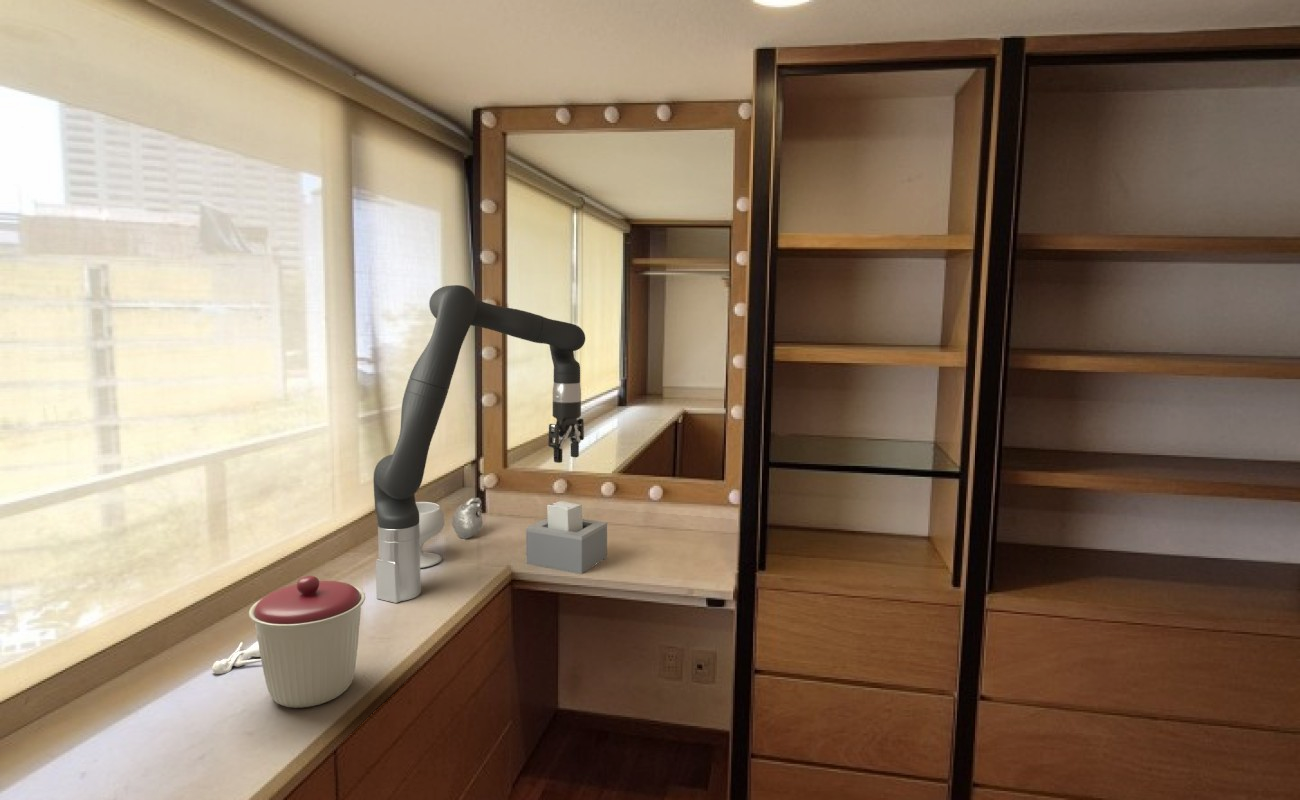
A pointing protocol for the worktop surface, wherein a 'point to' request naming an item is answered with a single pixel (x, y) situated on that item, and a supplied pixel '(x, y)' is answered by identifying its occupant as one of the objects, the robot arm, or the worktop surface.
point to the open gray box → (566, 546)
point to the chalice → (429, 529)
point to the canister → (308, 640)
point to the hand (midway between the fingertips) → (566, 459)
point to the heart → (468, 518)
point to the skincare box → (565, 516)
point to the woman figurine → (237, 659)
